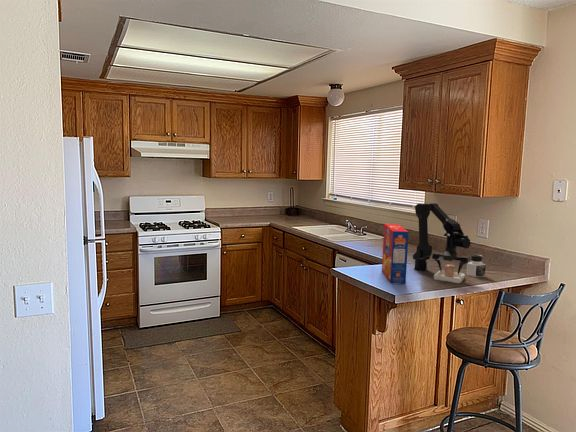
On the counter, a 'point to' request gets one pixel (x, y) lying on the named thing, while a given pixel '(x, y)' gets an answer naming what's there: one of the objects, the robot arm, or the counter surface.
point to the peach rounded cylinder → (449, 270)
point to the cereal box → (395, 253)
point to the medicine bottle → (476, 266)
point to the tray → (442, 277)
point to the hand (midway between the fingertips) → (449, 272)
